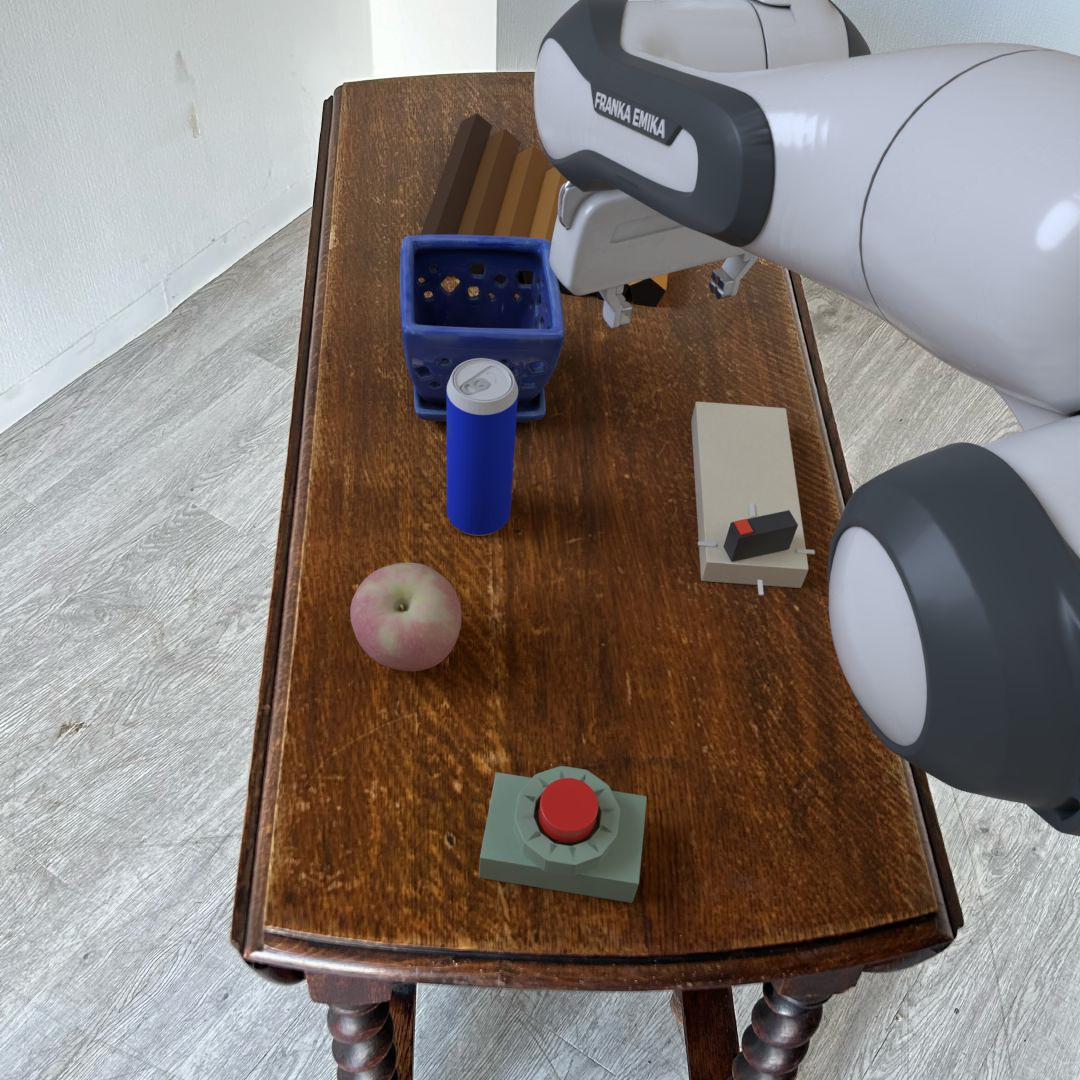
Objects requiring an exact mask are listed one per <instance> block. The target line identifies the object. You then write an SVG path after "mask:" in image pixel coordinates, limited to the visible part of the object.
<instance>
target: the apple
mask: <svg viewBox="0 0 1080 1080" xmlns="http://www.w3.org/2000/svg"><path fill="white" fill-rule="evenodd" d="M349 615H350V623H351V627H352V630H353V633H354V636H355V639H356V640H357V642H358V644H359V645H360V648H362V650H363V651H364V652H365V653H366V654H367V655H368V656H369V657H370V658H371V659H372V660H374V662H376V663H378V664H379V665H382V666H383V667H386V668H390V669H393V670H397V671H403V672H419V671H424V670H428V669H431V668H433V667H435V666H437V665H439V664H440V663H442V662H443V661H444V660H445V659H447V657H448V656H449V655H450V653H451V652H452V651H453V649H454V647H455V645H456V643H457V641H458V637H459V635H460V632H461V631H460V630H461V625H462V607H461V603H460V600H459V597H458V594H457V593H456V590H455V588H454V586H453V585H452V584H451V583H450V581H449V580H448V579H447V578H446V577H444V576H443V575H442V573H440V572H438V571H437V570H436V569H434V568H432V567H430V566H428V565H425V564H423V563H419V562H397V563H393V564H389V565H386V566H383V567H380V568H378V569H375V570H374V571H373V572H371V573H370V574H369V575H367V576H366V577H365V578H364V579H363V581H362V582H361V583H360V584H359V586H358V587H357V590H356V591H355V593H354V595H353V596H352V599H351V604H350V611H349Z"/></svg>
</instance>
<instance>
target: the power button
mask: <svg viewBox="0 0 1080 1080" xmlns="http://www.w3.org/2000/svg"><path fill="white" fill-rule="evenodd" d="M597 813H598V800H597V797H596V794H595V793H594V791H593V790H592V789H591V788H590V786H588V785H587V784H586V783H584V782H582V781H580V780H578V779H574V778H562V779H558V780H556V781H554V782H552V783H551V784H549V785H548V786H547V787H546V789H545V790H544V792H543V793H542V796H541V800H540V807H539V822H540V824H541V827H542V829H543V830H544V831H545V833H546V834H547V835H548V836H550V837H551V838H553V839H554V840H556V841H559V842H563V843H573V842H578V841H580V840H582V839H584V838H586V837H587V836H588V835H589V834H590V833H591V831H592V830H593V828H594V825H595V822H596V818H597Z"/></svg>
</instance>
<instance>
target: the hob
mask: <svg viewBox="0 0 1080 1080" xmlns="http://www.w3.org/2000/svg"><path fill="white" fill-rule="evenodd" d="M694 403H695V404H694V408H693V412H692V416H691V420H690V424H691V425H690V426H691V441H692V457H693V458H692V459H693V471H694V472H693V474H694V475H693V476H694V487H695V490H694V491H695V506H696V517H697V518H696V521H697V522H696V523H697V537H698V541H697V547H698V552H699V567H700V581H701V582H710V583H711V582H712V583H725V584H738V585H752V586H757V593H758V596H760V597H761V596H764V595H765V593H764V586H766V587H779V588H780V587H781V588H794V589H802V587H803V585H804V581H805V579H806V577H807V574H808V571H809V563H808V556H807V555H815V554H816V551H815V549H809V548H808V549H807V548H806V541H805V534H804V527H803V519H802V512H801V505H800V498H799V490H798V483H797V476H796V470H795V469H796V468H795V463H794V462H795V461H794V457H793V449H792V442H791V434H790V428H789V427H790V426H789V421H788V413H787V408H786V407H776V406H774V407H773V406H763V405H762V406H761V405H750V404H749V405H748V404H734V403H721V402H709V401H708V402H707V401H695V402H694ZM787 510H790V512H791V514H792V516H793V517H794V519H795V521H796V522H797V524H798V527H797V530H796V532H795V535H794V537H793V540H792V543H791V545H790V548H789V549H788V550H784V551H779V552H775V553H770V554H766V555H761V556H757V557H752V558H748V559H743V560H739V561H734V562H731V560H730V558H729V556H728V555H727V553H726V551H725V549H724V543H725V540H726V537H727V533H728V530H729V527H730V523H731V522H734V521H738V520H743V519H749V518H754V517H759V516H764V515H768V514H773V513H778V512H783V511H787Z"/></svg>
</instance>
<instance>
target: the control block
mask: <svg viewBox="0 0 1080 1080" xmlns="http://www.w3.org/2000/svg"><path fill="white" fill-rule="evenodd" d="M562 778H574V779H578V780H580V781H582V782H584V783H586V784H587V785H588V786H590V788H591V789H592V790H593V791H594V793H595V794H596V797H597V800H598V813H597V818H596V822H595V825H594V828H593V830H592V831H591V833H590V834H589V835H588V836H587V837H586V838H584V839H582V840H580V841H578V842H573V843H563V842H559V841H556V840H554V839H553V838H551V837H550V836H548V835H547V834H546V833H545V831H544V830H543V829H542V827H541V824H540V822H539V807H540V800H541V796H542V793H543V792H544V790H545V789H546V787H547V786H548V785H549V784H551V783H552V782H554V781H556V780H558V779H562ZM491 791H492V792H491V796H490V801H489V807H488V811H487V817H486V823H485V829H484V833H483V838H482V843H481V849H480V855H479V867H478V878H479V879H484V880H490V881H495V882H502V883H508V884H514V885H520V886H525V887H526V886H527V887H533V888H540V889H545V890H551V891H557V892H562V893H568V894H573V895H574V894H576V895H582V896H587V897H593V898H600V899H605V900H611V901H617V902H624V903H629V904H633V902H634V899H635V896H636V894H637V890H638V887H639V884H640V878H641V877H640V875H641V866H642V853H643V843H644V835H645V834H644V831H645V821H646V810H647V801H648V800H647V799H648V797H647V795H641V794H635V793H629V792H622V791H617V790H612V788H611V786H609V785H608V783H606V782H605V781H603V780H602V779H601V778H599V777H598V776H597V775H595V774H593V773H592V772H591V771H590V770H589V769H584V768H578V767H572V766H566V765H560V766H556V767H553V768H550V769H547V770H544V771H541V772H538V773H535V774H534V775H533V776H532V777H529V776H524V775H516V774H510V773H504V772H496V771H495V775H494V781H493V785H492V790H491Z"/></svg>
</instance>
